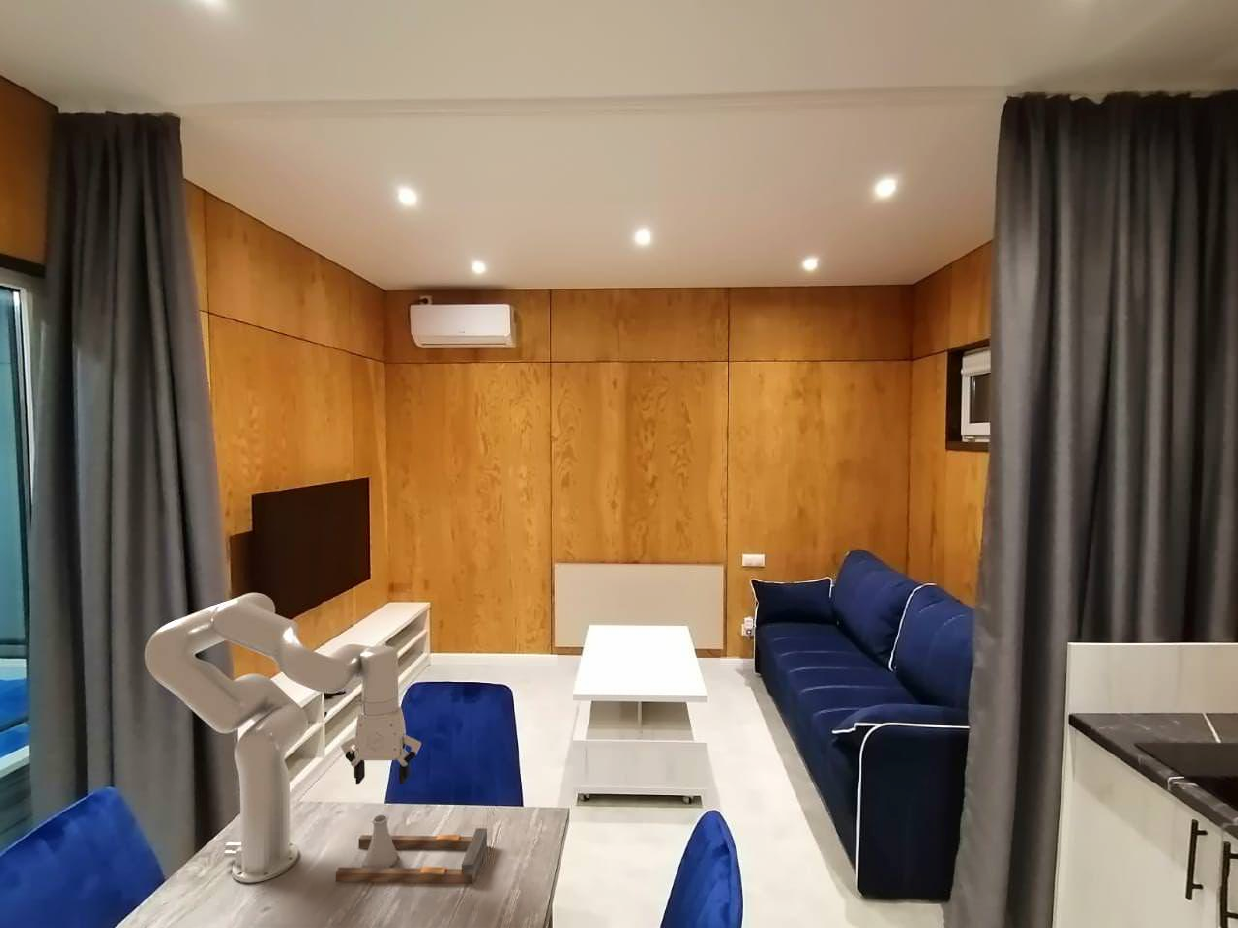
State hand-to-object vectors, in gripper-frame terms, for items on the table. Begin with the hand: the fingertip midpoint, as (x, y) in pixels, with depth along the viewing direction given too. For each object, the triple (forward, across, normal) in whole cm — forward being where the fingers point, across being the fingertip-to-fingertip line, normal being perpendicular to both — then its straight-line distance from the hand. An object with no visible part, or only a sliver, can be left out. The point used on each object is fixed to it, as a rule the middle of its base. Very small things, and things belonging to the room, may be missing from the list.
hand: (381, 780), depth 135 cm
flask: (+18, -1, 0) cm, 19 cm away
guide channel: (+18, +7, 0) cm, 20 cm away
